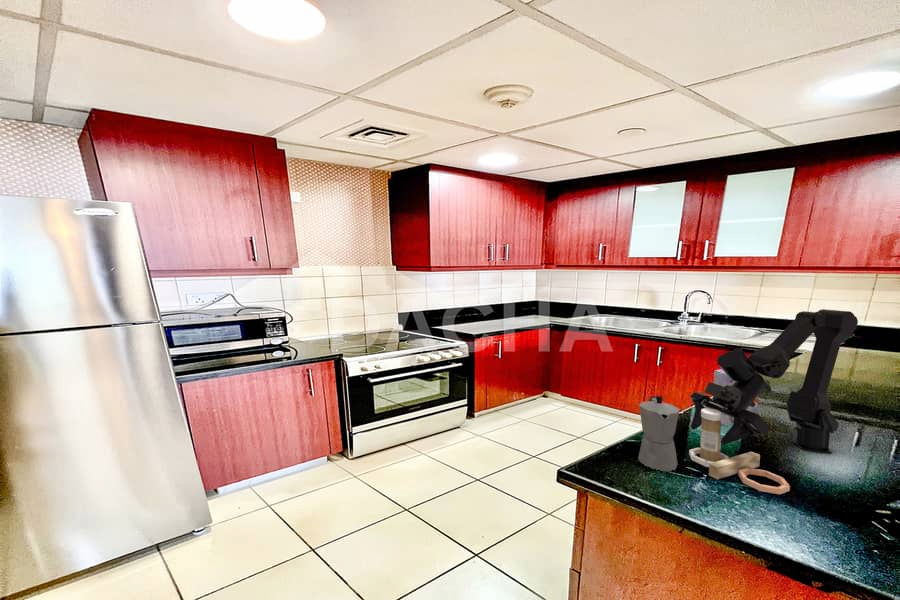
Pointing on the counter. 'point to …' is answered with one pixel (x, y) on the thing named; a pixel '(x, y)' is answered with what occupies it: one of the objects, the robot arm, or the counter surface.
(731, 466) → the door edge rail
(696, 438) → the counter surface
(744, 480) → the keeper collar
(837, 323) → the robot arm
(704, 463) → the collar
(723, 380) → the cake pan box
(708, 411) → the sprinkles bottle
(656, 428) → the coffeepot
